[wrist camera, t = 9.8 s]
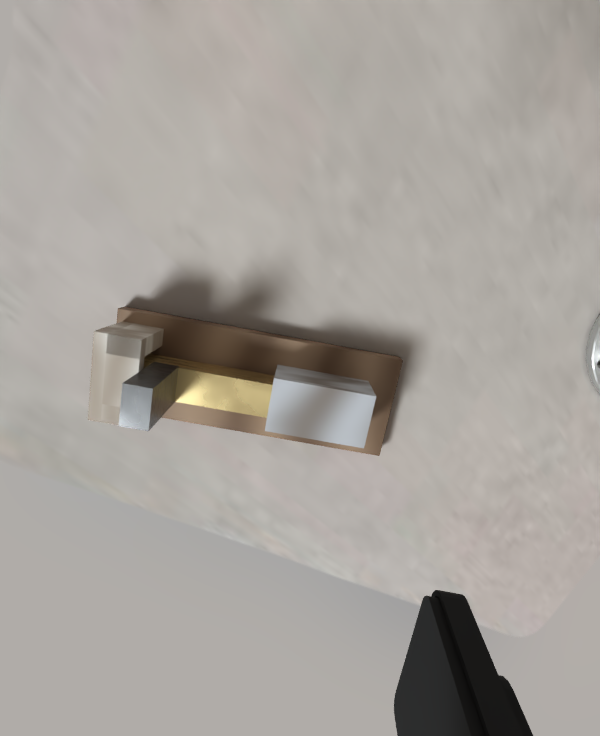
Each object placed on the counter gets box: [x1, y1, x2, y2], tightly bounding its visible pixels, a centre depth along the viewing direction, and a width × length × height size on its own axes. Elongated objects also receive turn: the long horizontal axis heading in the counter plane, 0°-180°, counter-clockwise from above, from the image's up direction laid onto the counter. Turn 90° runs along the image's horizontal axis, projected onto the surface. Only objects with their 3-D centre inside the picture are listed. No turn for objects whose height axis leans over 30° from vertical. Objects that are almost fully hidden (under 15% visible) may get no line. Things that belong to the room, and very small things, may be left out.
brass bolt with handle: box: [119, 353, 274, 431], centre depth 33 cm, size 15×3×9 cm, turn 80°
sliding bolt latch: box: [88, 307, 403, 456], centre depth 36 cm, size 24×9×7 cm, turn 80°
